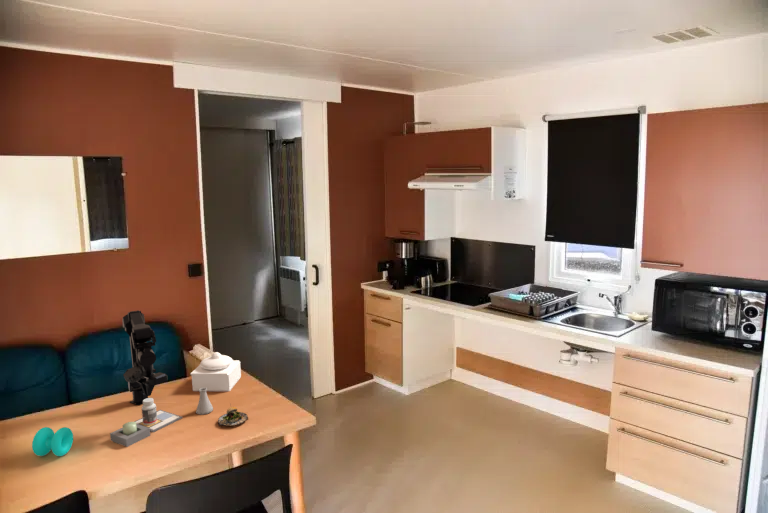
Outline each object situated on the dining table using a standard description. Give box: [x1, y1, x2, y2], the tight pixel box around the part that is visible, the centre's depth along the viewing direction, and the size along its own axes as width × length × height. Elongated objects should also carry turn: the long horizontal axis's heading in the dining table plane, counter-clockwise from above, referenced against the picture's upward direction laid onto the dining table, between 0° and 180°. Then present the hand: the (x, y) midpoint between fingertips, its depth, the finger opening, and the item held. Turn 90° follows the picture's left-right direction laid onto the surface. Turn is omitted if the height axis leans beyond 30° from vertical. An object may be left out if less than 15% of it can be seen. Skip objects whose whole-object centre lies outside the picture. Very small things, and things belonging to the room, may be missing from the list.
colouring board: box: [133, 409, 183, 433], centre depth 219 cm, size 14×14×1 cm
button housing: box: [109, 424, 151, 448], centre depth 205 cm, size 10×10×3 cm
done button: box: [122, 421, 137, 436], centre depth 205 cm, size 5×5×4 cm
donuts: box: [31, 426, 74, 457], centre depth 194 cm, size 10×10×10 cm
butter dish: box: [190, 351, 242, 392], centre depth 256 cm, size 18×18×16 cm
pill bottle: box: [141, 397, 157, 425], centre depth 216 cm, size 5×5×10 cm
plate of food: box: [217, 403, 249, 428], centre depth 217 cm, size 12×12×8 cm
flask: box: [195, 388, 214, 415], centre depth 227 cm, size 7×7×10 cm
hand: (147, 395), depth 214 cm, fingers closed
